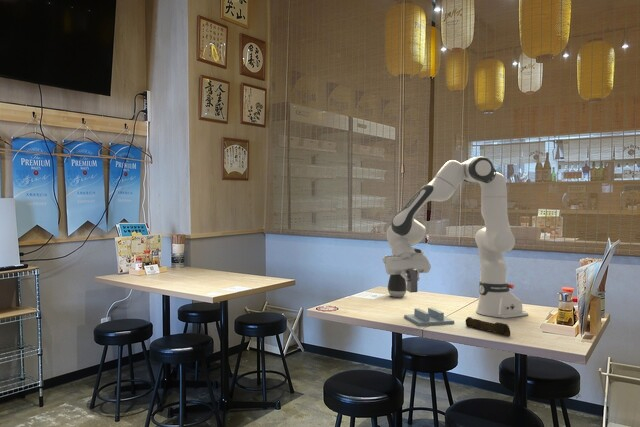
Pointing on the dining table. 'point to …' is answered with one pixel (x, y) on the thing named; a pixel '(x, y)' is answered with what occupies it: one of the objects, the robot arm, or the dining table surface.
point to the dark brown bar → (489, 326)
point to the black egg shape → (397, 285)
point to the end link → (412, 280)
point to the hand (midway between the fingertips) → (412, 280)
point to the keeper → (428, 317)
